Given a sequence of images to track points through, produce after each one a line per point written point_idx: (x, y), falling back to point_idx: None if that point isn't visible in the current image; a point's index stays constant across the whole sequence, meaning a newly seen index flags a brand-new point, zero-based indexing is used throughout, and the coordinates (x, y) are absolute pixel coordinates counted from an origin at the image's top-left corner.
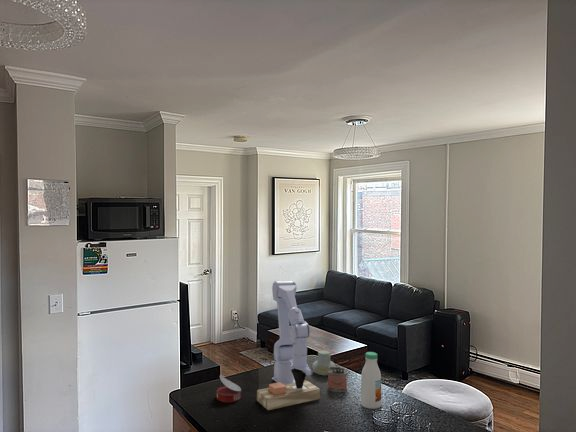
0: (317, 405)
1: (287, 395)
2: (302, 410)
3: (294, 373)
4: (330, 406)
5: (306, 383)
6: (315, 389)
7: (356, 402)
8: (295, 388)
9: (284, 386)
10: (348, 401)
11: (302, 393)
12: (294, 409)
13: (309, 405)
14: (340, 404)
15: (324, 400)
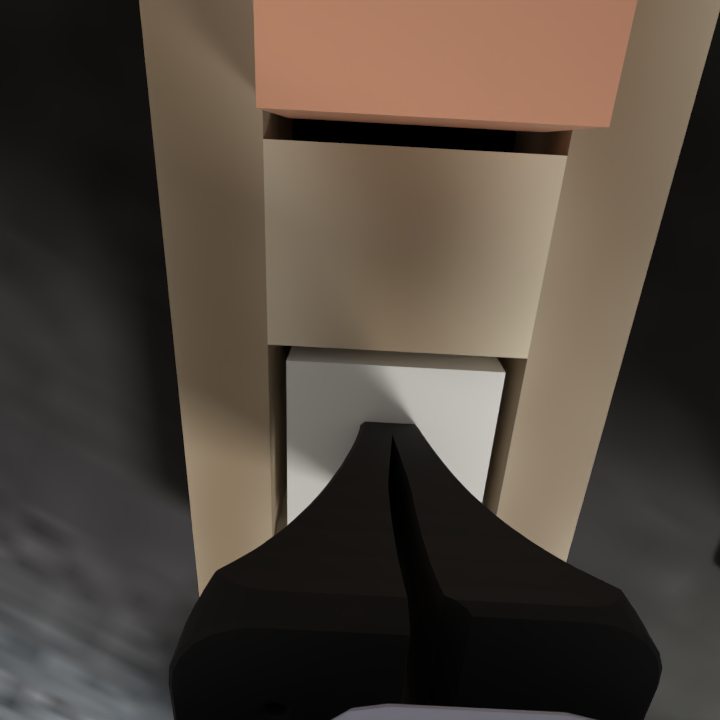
0: (90, 436)
1: (147, 64)
2: (10, 207)
3: (433, 580)
4: (26, 524)
5: None
6: (203, 587)
7: (40, 716)
8: (384, 387)
9: (268, 56)
10: (80, 686)
11: (184, 385)
12: (71, 123)
13: (121, 363)
14: (42, 612)
15: (180, 553)
